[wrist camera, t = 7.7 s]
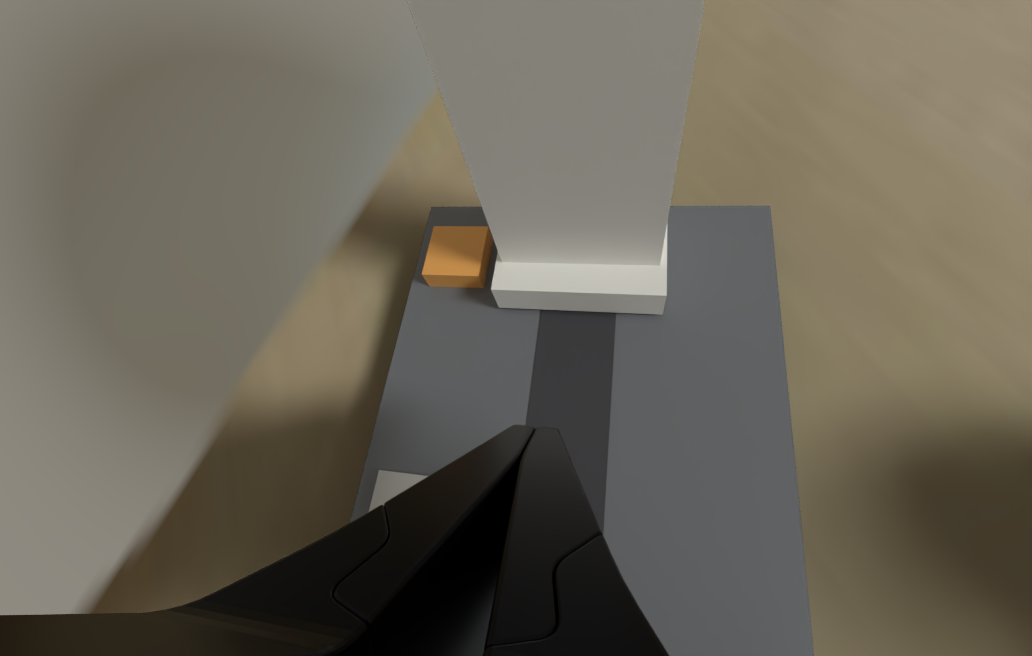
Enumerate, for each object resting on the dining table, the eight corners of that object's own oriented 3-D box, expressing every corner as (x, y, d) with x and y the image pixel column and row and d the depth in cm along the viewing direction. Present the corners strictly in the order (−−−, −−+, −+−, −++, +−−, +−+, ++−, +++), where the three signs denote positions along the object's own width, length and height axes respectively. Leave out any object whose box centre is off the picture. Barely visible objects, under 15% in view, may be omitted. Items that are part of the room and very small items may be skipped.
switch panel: (806, 818, 11) (851, 878, 9) (329, 702, 13) (279, 727, 11) (757, 232, 17) (777, 189, 15) (443, 230, 20) (424, 192, 18)
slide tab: (662, 314, 15) (737, -34, 6) (499, 307, 16) (365, 4, 7) (664, 209, 16) (724, -183, 8) (515, 210, 18) (422, -133, 9)
